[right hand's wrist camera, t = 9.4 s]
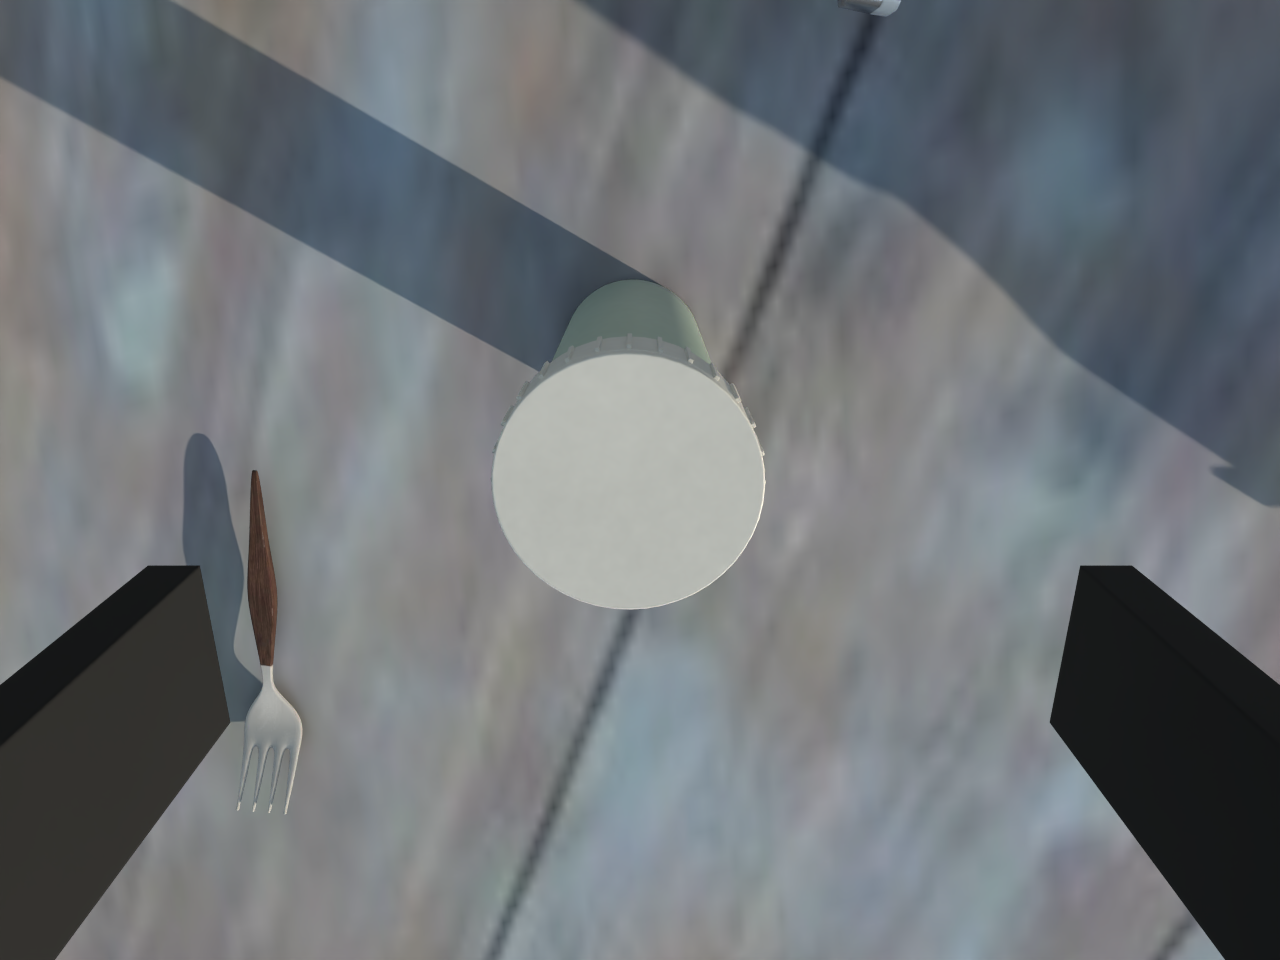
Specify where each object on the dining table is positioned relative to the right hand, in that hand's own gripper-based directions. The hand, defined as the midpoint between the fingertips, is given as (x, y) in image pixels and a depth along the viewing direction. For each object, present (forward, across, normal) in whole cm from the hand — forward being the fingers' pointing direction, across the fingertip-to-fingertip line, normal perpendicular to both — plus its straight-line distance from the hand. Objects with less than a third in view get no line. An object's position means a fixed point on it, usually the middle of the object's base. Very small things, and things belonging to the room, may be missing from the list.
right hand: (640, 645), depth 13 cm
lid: (+7, 0, 0) cm, 7 cm away
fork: (+22, -16, -13) cm, 30 cm away
